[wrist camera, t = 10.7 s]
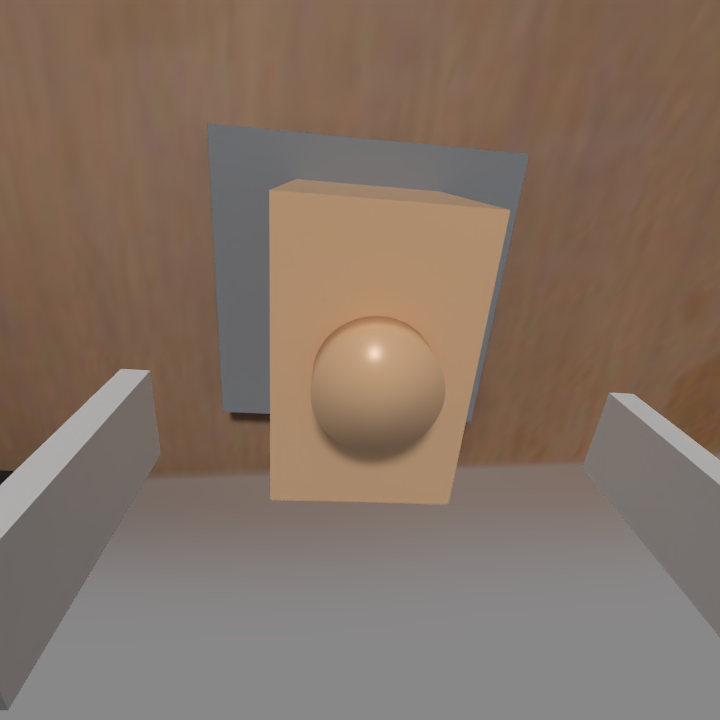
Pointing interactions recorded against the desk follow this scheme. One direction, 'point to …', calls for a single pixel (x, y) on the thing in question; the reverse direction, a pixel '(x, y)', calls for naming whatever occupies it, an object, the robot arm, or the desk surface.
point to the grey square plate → (329, 164)
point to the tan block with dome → (374, 337)
